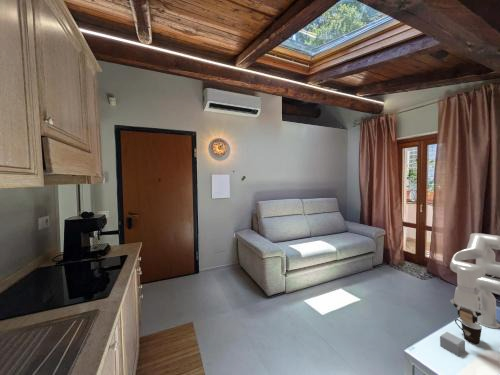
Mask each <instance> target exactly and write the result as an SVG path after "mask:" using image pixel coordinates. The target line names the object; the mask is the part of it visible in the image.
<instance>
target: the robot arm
mask: <svg viewBox="0 0 500 375" xmlns="http://www.w3.org/2000/svg"><path fill="white" fill-rule="evenodd" d="M468 240H469V241H468V243H467V247H466V248H465V249H464V248H463V249H462V250H459V251H457V252H456V253H454V254H453V255H452V258H451V261H450V264H449V268H450V270H451V271H452V272H454V273H455V274H456V278H457V279H456V280H457V283H456V284H457V286H456V287H455V292H454V297H453V298H452V299H450V300H449V302H450V303H451V305H453V306H454V308H456V310H457V315H458V317H459V318H460V310H461V309H462V308H465V309H467V310H470V311H472V312H473V323H475V322H476V323H478V324H479V325H480V326H484V327H486V328H490V329H499V328H500V323H499V322H498V321H497V300H496V297H495V295H494V294H496V295H499V296H500V279H499V278H500V261H496V253H495V252H494V250H498V251H500V235H495V234H494V235H493V234H486V233H482V232H481V233H479V232H474V233H471V234H469V239H468ZM465 260H475V263H471V262H466V261H465ZM487 275H488V276H487ZM489 275H490V276H489ZM491 276H494V277H491ZM495 277H497V278H495Z"/></svg>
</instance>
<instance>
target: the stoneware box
mask: <svg viewBox="0 0 500 375" xmlns="http://www.w3.org/2000/svg"><path fill="white" fill-rule="evenodd" d="M439 347H441V348H442V349H445V350H446V351H449V352H450V353H451V354H453V355H455V356H457V357H459V356H461V355H462V354H463V353H465V351H466V340H465V339H462V338H460V337H458V336H456V335H455V334H452V333H450V332H448V331H446V332H444V333H443V334H442V335H440V336H439Z"/></svg>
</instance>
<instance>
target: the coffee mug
mask: <svg viewBox="0 0 500 375" xmlns="http://www.w3.org/2000/svg"><path fill="white" fill-rule="evenodd" d="M457 321H458V322H460V323H461V325H459V324H458V322H457ZM454 323H455V324H456V325H457V327H458V328H459V329H460V330H461V331H462V334H463V338H464V339H463V340H464V341H465V342H468V343H470V344H472V345H480V341H481V336H482V335H481V334H482V328H483V327H482V325H481V324H479V323H477V322H475V323H473V324H471V323H468V322H466V321H463V320H461V319H460V318H459V319H458V318H455V319H454Z"/></svg>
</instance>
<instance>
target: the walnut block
mask: <svg viewBox="0 0 500 375" xmlns="http://www.w3.org/2000/svg"><path fill="white" fill-rule="evenodd" d="M459 320H460V321H461V320H463V321H466V322H468V323H471V324H473V312H472V310H469V309H467V308H464V307H461V310H460V317H459Z"/></svg>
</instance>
